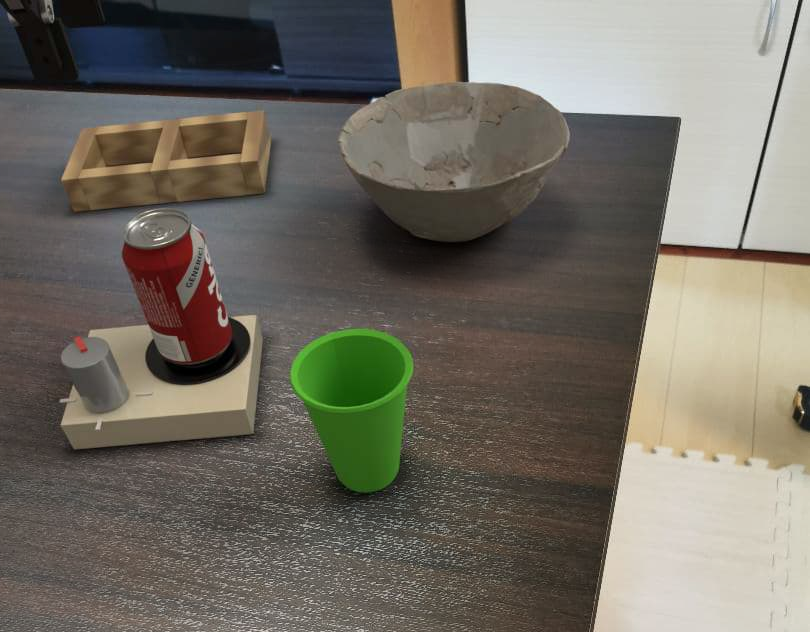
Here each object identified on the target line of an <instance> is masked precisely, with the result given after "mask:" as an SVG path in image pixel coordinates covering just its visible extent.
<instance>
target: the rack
mask: <svg viewBox="0 0 810 632" xmlns="http://www.w3.org/2000/svg"><path fill="white" fill-rule="evenodd" d="M268 125H269V124H268V120H267V115H266V111H265V109H262V110H251V111H241V112H231V113H223V114H212V115H203V116H191V117H184V118H183V117H182V118H172V119H164V120H163V119H162V120H152V121H145V122H144V121H142V122H134V123H133V122H132V123H124V124H113V125H103V126H93V127H83V128H82V129H81V131H80V133H79V135H78V138H77V140H76V143H75V145H74V148H73V150H72V152H71V155H70V157H69V159H68V162H67V164H66V167H65V169H64V171H63V174H62V176H61V179H60V181H61V184H62V186H63V189H64V191H65V194H66V196H67V198H68V201H69V203H70V205H71V208H72V210H73V213H77V212H88V211H98V210H108V209H109V210H110V209H119V208H129V207H138V206H139V207H140V206H148V205H158V204H159V205H160V204H169V203H180V202H190V201H201V200H212V199H220V198H221V199H222V198H231V197H241V196H243V197H244V196H250V195H262V194H265V193H266V187H267V186H266V185H267V177H268V169H269V162H270V155H271V147H272V146H271V145H272V139H271V135H270V131H269V126H268Z"/></svg>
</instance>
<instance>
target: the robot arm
mask: <svg viewBox="0 0 810 632" xmlns="http://www.w3.org/2000/svg"><path fill="white" fill-rule="evenodd" d="M55 2H56V5H57V9H58V11H59V14H60V16H57V17H56V16H55V14H54V6H53V0H0V5H1V6H2V8H3V9H4V10H5V11H6V14H7V18H8V21H9V23H10V24H11V26H12V27H14V30H15V32H16V36H17V38H18V40H19V44H20V45H21V48H22V51H23V53H24V56H25V58H26V61H27V63H28V66H29V69H30V71H31V74H32V76H33V79H34V80H35V82H37V84H53V83H65V82H66V83H67V82H76V81H77V80H78V79H79V77H80V74H81V73H80V70H79V66H78V64H77V62H76V61H77V60H76V59H75V55H74V52H73V50H72V47H71V44H70V41H69V39H68V35H67V32H66V30H65V28H68V29H79V28H88V27H89V28H92V27H101V26H103V25H104V23H105V20H106V18H105V15H104V12H103V8H102V4H101V1H100V0H55ZM64 26H65V27H64Z"/></svg>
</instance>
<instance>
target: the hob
mask: <svg viewBox="0 0 810 632" xmlns="http://www.w3.org/2000/svg"><path fill="white" fill-rule="evenodd" d="M229 317H230V318H233V319H235V320H237V321H239V322H240V323H242V324H243V325H244V326H245V327H246V329H247V330H248V332H249V335H250V339H251V346H250V350H249V352H248V354H247V356H246V358H245V359H244V360H243V362H242V363H241V364H240V365H239V366H238V367H236V368H235V369H234V370H232V371H231V372H229V373H228V374H226V375H224V376H222V377H220V378H218V379H215V380H212V381H209V382H206V383H201V384H194V385H177V384H171V383H167V382H164V381H162V380H160V379H158V378H157V377H155V376H154V375H153V374H152V373H151V372H150V371H149V369H148V367H147V364H146V361H145V354H146V350H147V347H148V345H149V343H150V342H151V341H152V339H153V336H152V333H151V331H150V328H149V325H148V324H141V325H130V326H120V327H119V326H118V327H107V328H97V329H90V330H89V332H88V335H87V337H99V338H102V339H104V340H105V341H107V343H108V344H109V346H110V349H111V351H112V353H113V355H114V358H115V360H116V362H117V364H118V367H119V369H120V371H121V373H122V376H123V378H124V380H125V382H126V385H127V387H128V389H129V396H128V398H127V400H126V401H125V402H124V404H122V405H121V406H120V407H118V408H117V409H114V410H112V411H109V412H105V413H95V412H91V411H89V410H87V409H86V408H85V406H84V404H83V403H82V401H81V399H80V397H79V395H78V393H77V391H76V389H75V387H74V385H73V384H72V387H71V390H70V393H69V396H68V398H60V399H59V403H60V404H66V405H65V409H64V412H63V416H62V419H61V422H60V427H61V429H62V431H63V433H64V434H65V436H66V438H67V440H68V442H69V444H70V445H71V447H72V448H73V450H84V449H85V450H86V449H94V448H109V447H120V446H129V445H142V444H154V443H165V442H177V441H187V440H188V441H189V440H190V441H191V440H200V439H210V438H211V439H212V438H224V437H234V436H235V437H237V436H246V435H247V436H248V435H253V434H254V432H255V431H254V430H255V420H256V411H257V400H258V391H259V382H260V371H261V362H262V352H263V343H264V338H263V335H262V331H261V327H260V323H259V319H258V316H257V314H250V315H239V316H238V315H237V316H229Z"/></svg>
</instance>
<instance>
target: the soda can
mask: <svg viewBox="0 0 810 632" xmlns="http://www.w3.org/2000/svg"><path fill="white" fill-rule="evenodd" d="M121 235H122V239H123V241H124V243H123V246H122V249H121V258H122V261H123V264H124V266H125V269H126V272H127V274H128V276H129V279H130V283H131V284H132V287H133V290H134V292H135V294H136V298H137V299H138V303H139V305H140V308H141V310H142V313H143V316H144V318H145V320H146V322H147V325H149V328H150V331H151V333H152V336H153V338H154V341H155V343H156V346H157V348H158V351H159V353H160V355H161V356H162V357H163V358H164V359H165V360H167V361H168V362H171V363H173V364H178V365H195V364H200V363H204V362H207V361H209V360H212V359H214V358H215V357H217V356H219V355H220V354H221V353H223V352H224V351H225V350H226V349H227V347H228V346H229V344H230V343H231V340H232V329H231V326H230V323H229V319H228V317H229V316H228V313H227V310H226V305H225V303H224V299H223V296H222V293H221V289H220V286H219V283H218V279H217V276H216V272H215V269H214V265H213V263H212V259H211V256H210V253H209V249H208V246H207V242H206V238H205V236H204V234H203V233H202V231H201V230H200V229H199V228H198V227H196V226H195V225H194V224H193V223H192V220H191V218H190V216H189V214H188V213H187V212H185V211H184V210H182V209H179V208H173V207H159V208H153V209H150V210H149V209H148V210H145V211H143V212H141V213H139V214H137V215H135V216H134V217H132V218H130V220H128V221H127V222H126V223H125V225H124V226H123V228H122V231H121Z"/></svg>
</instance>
